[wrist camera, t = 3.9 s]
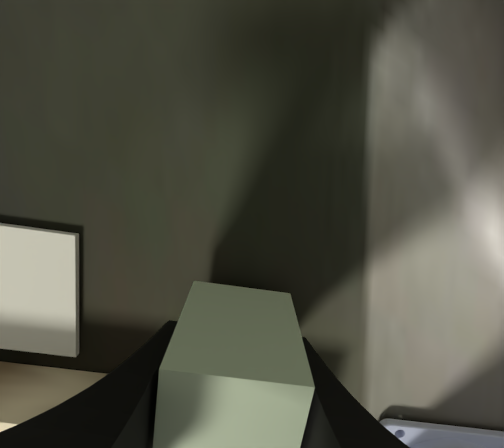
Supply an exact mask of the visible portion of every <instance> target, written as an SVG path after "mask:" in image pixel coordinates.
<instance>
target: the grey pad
mask: <svg viewBox="0 0 504 448" xmlns="http://www.w3.org/2000/svg"><path fill="white" fill-rule="evenodd" d="M0 349H9V350H17V351H26V352H34V353H43V354H51V355H60V356H69V357H77V355H78V354H79V233H71V232H64V231H56V230H49V229H42V228H34V227H27V226H19V225H12V224H5V223H0Z"/></svg>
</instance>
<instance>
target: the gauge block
mask: <svg viewBox="0 0 504 448" xmlns="http://www.w3.org/2000/svg"><path fill="white" fill-rule="evenodd" d="M314 389H315V385H314V382H313V378H312V374H311V370H310V366H309V363H308V359H307V355H306V351H305V347H304V344H303V340H302V336H301V332H300V328H299V325H298V321H297V317H296V313H295V309H294V306H293V302H292V298H291V294H290V293H284V292H276V291H269V290H261V289H254V288H246V287H238V286H231V285H223V284H215V283H208V282H200V281H194V282H193V284H192V287H191V290H190V292H189V295H188V297H187V300H186V302H185V305H184V307H183V310H182V312H181V315H180V317H179V320H178V323H177V325H176V328H175V330H174V333H173V335H172V338H171V340H170V343H169V345H168V348H167V350H166V353H165V355H164V358H163V361H162V363H161V366H160V368H159V377H158V389H157V402H156V414H155V427H154V439H153V448H300V446H301V442H302V438H303V434H304V430H305V426H306V422H307V418H308V414H309V410H310V406H311V402H312V397H313V393H314Z"/></svg>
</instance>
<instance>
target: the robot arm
mask: <svg viewBox="0 0 504 448" xmlns="http://www.w3.org/2000/svg"><path fill="white" fill-rule="evenodd" d="M177 323H178V321H170V320H169V321H168V322H166V323H165V324H164V325H163V326H162V328H161V329H160V330H159V331H158V332H157V333H156V334H155V335H154V336H152V337H151V338H150V339H149V340H148V341H147V342H146V343H145V344H144V345H143V346H142V347H141V348H139V349H138V350H137V351H136V352H135V353H134V354H133V355H131V356H130V357H129V358H128V359H127V360H125V361H124V362H123V363H122V364H120V365H119V366H118V367H117V368H115V369H114V370H113V371H111V372H110V373H109V374H107V375H106V376H104V377H103V378H102V379H100V380H99V381H97V382H96V383H94V384H93V385H91V386H90V387H88V388H86V389H85V390H83V391H81V392H80V393H78V394H76V395H75V396H73V397H71V398H69V399H68V400H66V401H64V402H62V403H61V404H59V405H57V406H55V407H53V408H51V409H49V410H47V411H45V412H43V413H41V414H39V415H37V416H35V417H33V418H31V419H29V420H27V421H24V422H22V423H20V424H18V425H16V426H13V427H11V428H8V429H6V430H4V431H1V432H0V448H153V439H154V427H155V414H156V402H157V389H158V377H159V368H160V366H161V363H162V361H163V358H164V355H165V353H166V350H167V348H168V345H169V343H170V340H171V338H172V335H173V333H174V330H175V328H176V325H177ZM302 340H303V344H304V347H305V351H306V355H307V359H308V363H309V366H310V370H311V374H312V378H313V382H314V385H315V389H314V393H313V397H312V402H311V406H310V410H309V414H308V418H307V422H306V426H305V430H304V434H303V438H302V442H301V446H300V448H504V432H503V431H495V430H486V429H477V428H468V427H459V426H451V425H442V424H433V423H424V422H416V421H407V420H398V419H389V418H388V419H383V420H381V421H380V422H378V421H377V420H376V419H375V418H374V417H373V416H372V415H371V414H370V413H369V412H368V411H367V410H366V409H365V408H364V407H363V406H362V405H361V404H360V403H359V402H358V401H357V400H356V399H355V398H354V397H353V396H352V395H351V394H350V393H349V392H348V391H347V389H346V388H345V387H344V386H343V385H342V384H341V383H340V382H339V380H338V379H337V378H336V377H335V376H334V374H333V373H332V372H331V371H330V370H329V368H328V367H327V366H326V364H325V363H324V362H323V361H322V359H321V358H320V357H319V355H318V354H317V353H316V351H315V350H314V349H313V347H312V346H311V345H310V343H309V342H308V341H307V339H306V338H305V337H302Z"/></svg>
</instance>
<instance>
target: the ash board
mask: <svg viewBox="0 0 504 448" xmlns="http://www.w3.org/2000/svg"><path fill="white" fill-rule="evenodd" d="M106 375H107V374H105V373H97V372H88V371H79V370H71V369H62V368H54V367H45V366H36V365H28V364H19V363H10V362H2V361H0V432H1V431H4V430H6V429H8V428H11V427H13V426H16V425H18V424H20V423H22V422H24V421H27V420H29V419H31V418H33V417H35V416H37V415H39V414H41V413H43V412H45V411H47V410H49V409H51V408H53V407H55V406H57V405H59V404H61V403H62V402H64V401H66V400H68V399H69V398H71V397H73V396H75V395H76V394H78V393H80V392H81V391H83V390H85V389H86V388H88V387H90V386H91V385H93V384H94V383H96V382H97V381H99V380H100V379H102V378H103V377H104V376H106Z"/></svg>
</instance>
